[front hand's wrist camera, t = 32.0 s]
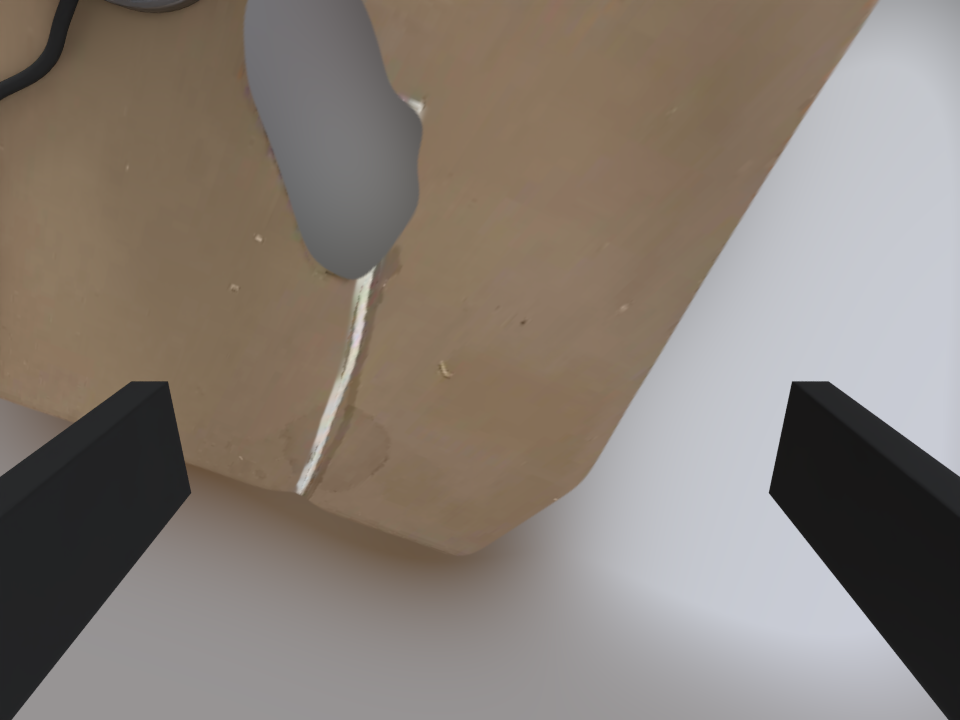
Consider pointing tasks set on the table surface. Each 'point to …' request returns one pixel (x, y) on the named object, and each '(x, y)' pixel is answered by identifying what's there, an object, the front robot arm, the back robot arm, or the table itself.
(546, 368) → the table surface
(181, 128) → the table surface
